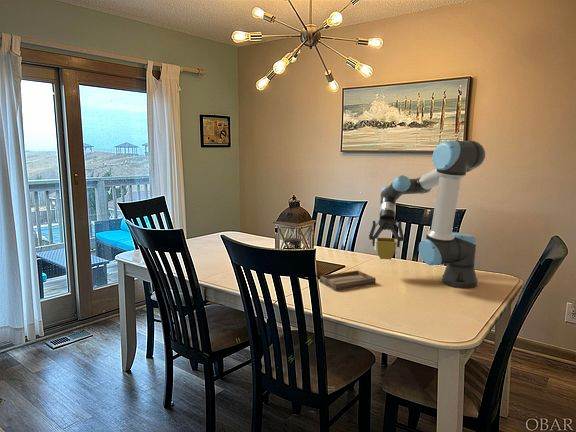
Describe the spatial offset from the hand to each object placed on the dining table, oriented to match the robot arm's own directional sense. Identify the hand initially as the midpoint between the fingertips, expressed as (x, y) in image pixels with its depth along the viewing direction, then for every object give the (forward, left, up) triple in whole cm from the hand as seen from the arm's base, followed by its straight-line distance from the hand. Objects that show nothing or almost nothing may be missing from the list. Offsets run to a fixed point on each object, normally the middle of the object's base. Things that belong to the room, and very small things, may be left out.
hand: (385, 251), depth 205 cm
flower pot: (+2, -2, -4) cm, 5 cm away
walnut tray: (+3, +19, -13) cm, 23 cm away
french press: (+30, +33, -14) cm, 47 cm away
